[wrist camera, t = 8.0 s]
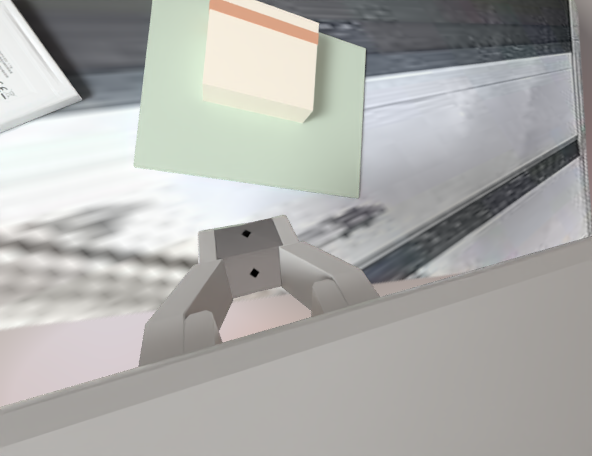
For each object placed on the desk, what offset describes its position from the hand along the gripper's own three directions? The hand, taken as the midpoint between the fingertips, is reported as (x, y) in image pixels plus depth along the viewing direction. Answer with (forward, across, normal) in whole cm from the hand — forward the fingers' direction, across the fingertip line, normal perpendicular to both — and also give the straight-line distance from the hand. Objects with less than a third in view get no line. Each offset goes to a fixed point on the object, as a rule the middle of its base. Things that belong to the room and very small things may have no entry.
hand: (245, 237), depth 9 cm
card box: (+17, -4, 0) cm, 17 cm away
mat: (+19, -5, 0) cm, 20 cm away
